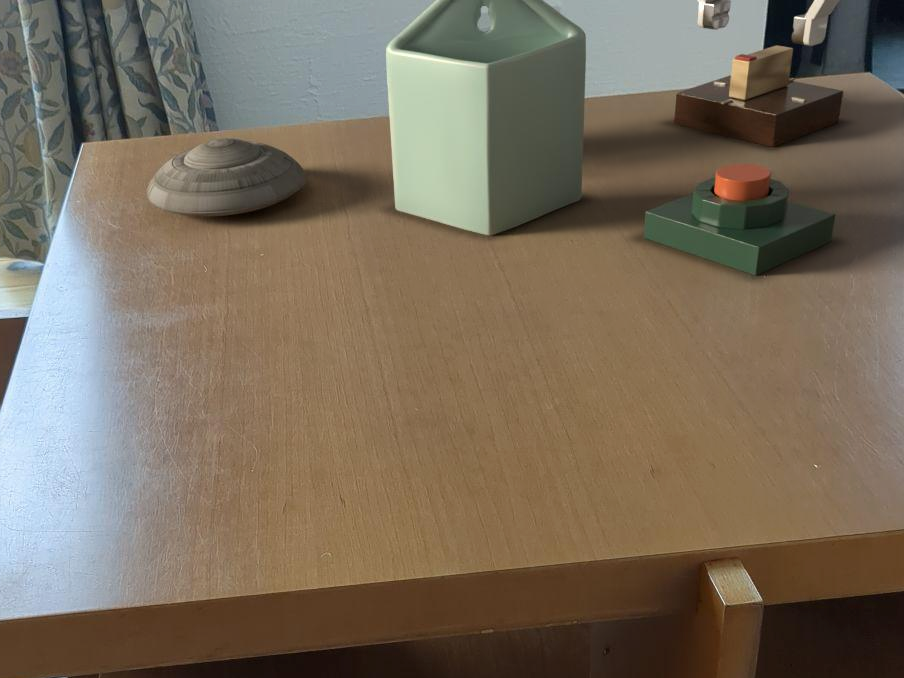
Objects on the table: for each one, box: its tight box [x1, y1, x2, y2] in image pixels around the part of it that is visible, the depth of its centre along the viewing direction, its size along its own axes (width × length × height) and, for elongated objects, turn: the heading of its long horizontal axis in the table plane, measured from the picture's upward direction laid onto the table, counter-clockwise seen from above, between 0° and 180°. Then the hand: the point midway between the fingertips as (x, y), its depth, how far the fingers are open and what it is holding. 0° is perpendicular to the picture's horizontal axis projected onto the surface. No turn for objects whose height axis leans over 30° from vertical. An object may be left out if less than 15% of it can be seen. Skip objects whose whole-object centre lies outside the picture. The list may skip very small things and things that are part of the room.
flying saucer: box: [145, 137, 308, 217], centre depth 106 cm, size 15×15×6 cm
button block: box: [643, 176, 836, 276], centre depth 90 cm, size 11×9×4 cm
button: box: [714, 163, 772, 201], centre depth 88 cm, size 4×4×2 cm
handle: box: [729, 44, 794, 100], centre depth 111 cm, size 6×2×4 cm, turn 126°
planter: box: [385, 0, 587, 237], centre depth 93 cm, size 16×8×20 cm, turn 87°
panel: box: [673, 74, 844, 148], centre depth 113 cm, size 12×11×3 cm
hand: (758, 35), depth 82 cm, fingers open, 7 cm apart
